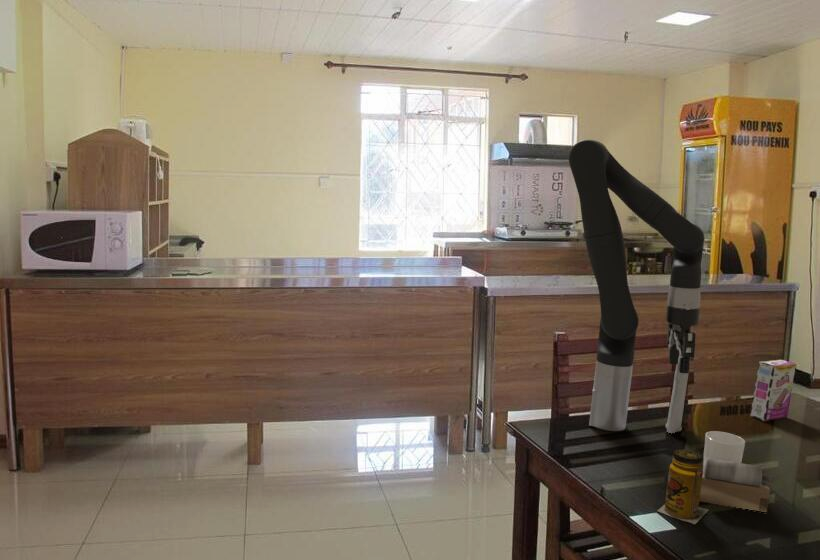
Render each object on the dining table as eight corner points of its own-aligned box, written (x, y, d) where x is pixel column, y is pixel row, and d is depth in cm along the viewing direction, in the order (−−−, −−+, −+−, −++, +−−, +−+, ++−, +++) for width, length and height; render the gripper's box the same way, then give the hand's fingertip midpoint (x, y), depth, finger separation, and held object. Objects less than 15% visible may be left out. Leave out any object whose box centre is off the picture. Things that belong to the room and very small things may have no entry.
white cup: (738, 479, 152) (744, 436, 151) (739, 492, 145) (745, 447, 144) (700, 470, 156) (706, 428, 154) (698, 483, 148) (704, 439, 147)
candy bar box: (765, 422, 194) (774, 366, 192) (749, 416, 198) (757, 361, 196) (788, 417, 200) (797, 363, 197) (772, 412, 204) (780, 358, 202)
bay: (683, 468, 156) (688, 430, 155) (752, 480, 152) (758, 441, 151) (691, 502, 139) (697, 459, 138) (770, 516, 135) (776, 473, 134)
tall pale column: (669, 421, 188) (681, 343, 185) (685, 425, 186) (697, 346, 183) (661, 432, 179) (673, 350, 176) (677, 436, 177) (690, 353, 174)
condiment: (656, 511, 134) (663, 453, 132) (671, 498, 140) (679, 442, 138) (694, 525, 129) (703, 464, 127) (708, 511, 135) (716, 453, 134)
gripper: (659, 299, 178) (655, 360, 180) (676, 309, 164) (671, 375, 166) (689, 300, 177) (684, 361, 179) (709, 310, 163) (703, 376, 165)
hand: (678, 368), depth 173 cm, fingers open, 8 cm apart
